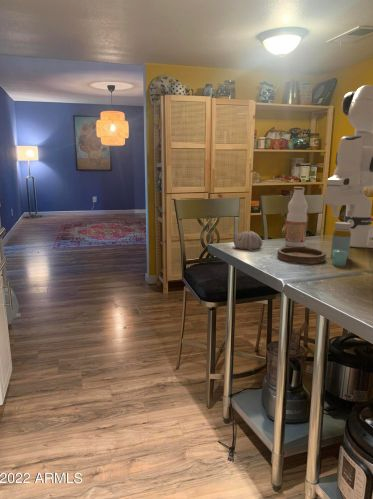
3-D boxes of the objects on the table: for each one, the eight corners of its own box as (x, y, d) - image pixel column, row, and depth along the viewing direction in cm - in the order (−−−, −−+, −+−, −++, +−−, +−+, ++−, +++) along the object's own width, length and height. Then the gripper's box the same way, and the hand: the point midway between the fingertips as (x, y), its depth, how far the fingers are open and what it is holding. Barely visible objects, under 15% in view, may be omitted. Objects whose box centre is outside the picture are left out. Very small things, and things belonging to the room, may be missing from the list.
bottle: (347, 260, 156) (351, 224, 153) (329, 258, 160) (332, 223, 156) (349, 257, 162) (353, 222, 159) (331, 255, 166) (335, 221, 162)
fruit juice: (292, 248, 179) (296, 187, 173) (281, 244, 188) (285, 186, 182) (309, 246, 182) (314, 187, 176) (297, 243, 191) (301, 186, 185)
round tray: (296, 251, 173) (297, 245, 172) (334, 259, 158) (334, 253, 157) (268, 256, 162) (268, 250, 161) (305, 266, 147) (306, 259, 146)
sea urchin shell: (264, 251, 172) (265, 233, 170) (234, 250, 173) (235, 233, 171) (260, 245, 185) (261, 229, 183) (232, 244, 186) (233, 228, 184)
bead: (336, 262, 154) (337, 248, 153) (348, 265, 150) (349, 251, 149) (328, 264, 151) (330, 250, 150) (340, 266, 147) (342, 252, 146)
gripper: (354, 179, 152) (350, 214, 155) (323, 179, 140) (320, 217, 143) (370, 180, 147) (365, 215, 150) (339, 180, 135) (335, 219, 138)
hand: (343, 216), depth 146 cm, fingers open, 8 cm apart
